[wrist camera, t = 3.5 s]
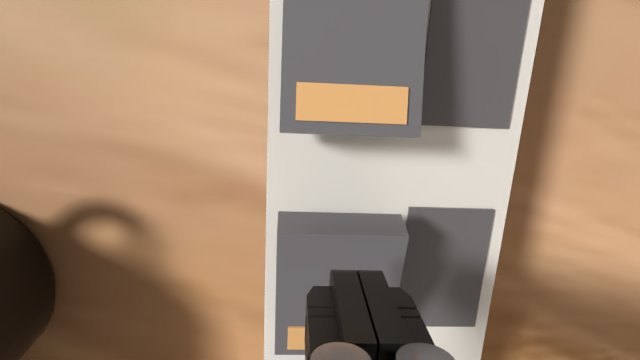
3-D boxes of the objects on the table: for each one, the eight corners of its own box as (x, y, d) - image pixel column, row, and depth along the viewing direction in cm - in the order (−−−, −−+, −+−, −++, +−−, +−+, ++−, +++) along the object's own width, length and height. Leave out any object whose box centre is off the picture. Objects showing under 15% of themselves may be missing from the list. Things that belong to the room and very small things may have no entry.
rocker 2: (278, 211, 17) (276, 234, 16) (401, 214, 17) (409, 237, 16) (275, 328, 20) (274, 356, 18) (380, 328, 20) (386, 356, 19)
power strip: (276, -112, 19) (272, -153, 15) (512, -94, 19) (569, -129, 15) (265, 461, 27) (260, 532, 23) (429, 458, 28) (451, 527, 24)
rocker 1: (285, -45, 16) (284, -65, 14) (418, -36, 16) (431, -54, 14) (280, 132, 16) (279, 132, 15) (409, 137, 16) (421, 137, 15)
